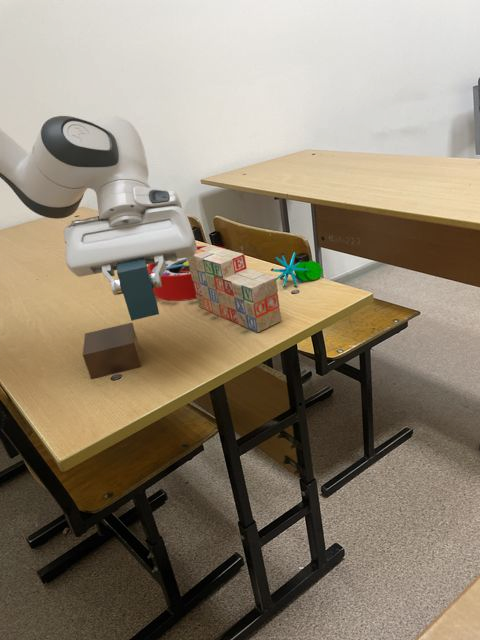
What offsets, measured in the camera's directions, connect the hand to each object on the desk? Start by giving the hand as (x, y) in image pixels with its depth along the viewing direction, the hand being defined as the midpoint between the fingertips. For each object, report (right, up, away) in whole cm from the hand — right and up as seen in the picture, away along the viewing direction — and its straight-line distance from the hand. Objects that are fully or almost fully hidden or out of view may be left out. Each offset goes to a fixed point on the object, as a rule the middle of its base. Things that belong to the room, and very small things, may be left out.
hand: (137, 289), depth 82 cm
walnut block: (-8, -11, +17) cm, 22 cm away
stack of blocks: (+14, -2, +28) cm, 31 cm away
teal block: (+1, -3, +3) cm, 4 cm away
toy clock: (+3, +7, +47) cm, 47 cm away
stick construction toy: (+27, +6, +39) cm, 48 cm away
